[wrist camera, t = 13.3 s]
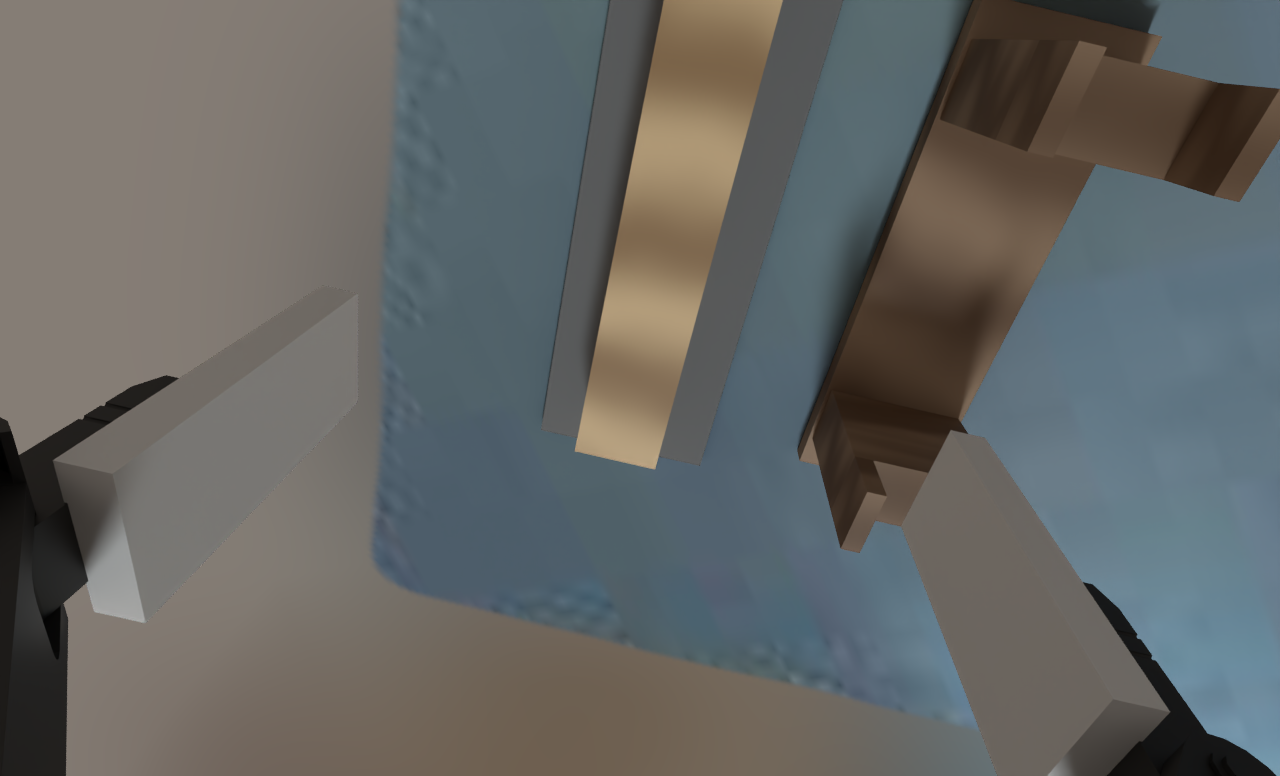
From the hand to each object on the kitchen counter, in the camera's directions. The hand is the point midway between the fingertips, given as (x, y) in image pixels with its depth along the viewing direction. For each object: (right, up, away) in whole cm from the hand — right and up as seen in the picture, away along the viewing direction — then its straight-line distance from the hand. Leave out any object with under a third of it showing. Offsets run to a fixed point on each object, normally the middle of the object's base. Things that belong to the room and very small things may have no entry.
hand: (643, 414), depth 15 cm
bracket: (+14, +6, +17) cm, 23 cm away
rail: (+1, +8, +16) cm, 18 cm away
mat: (+2, +9, +16) cm, 19 cm away
